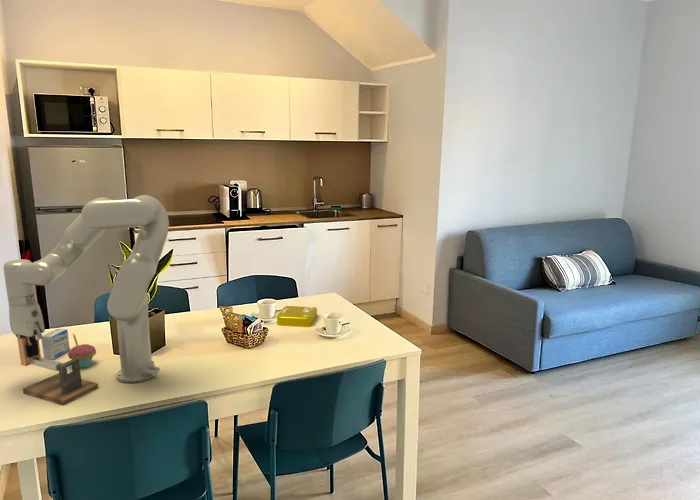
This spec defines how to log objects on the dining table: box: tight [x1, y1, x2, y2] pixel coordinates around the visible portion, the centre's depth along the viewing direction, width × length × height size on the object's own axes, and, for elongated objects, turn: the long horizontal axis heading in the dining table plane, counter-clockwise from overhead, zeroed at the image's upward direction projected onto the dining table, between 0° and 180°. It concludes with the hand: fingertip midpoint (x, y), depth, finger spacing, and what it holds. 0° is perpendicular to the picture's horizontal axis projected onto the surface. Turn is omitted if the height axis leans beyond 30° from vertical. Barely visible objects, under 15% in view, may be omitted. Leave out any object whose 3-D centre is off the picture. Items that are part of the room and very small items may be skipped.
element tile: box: [276, 305, 318, 328], centre depth 222 cm, size 15×15×5 cm
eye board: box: [22, 358, 99, 406], centre depth 158 cm, size 18×12×10 cm, turn 66°
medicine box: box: [40, 328, 71, 360], centre depth 185 cm, size 8×4×9 cm, turn 168°
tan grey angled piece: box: [16, 333, 63, 372], centre depth 160 cm, size 14×5×9 cm, turn 66°
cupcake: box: [67, 333, 97, 369], centre depth 176 cm, size 9×8×12 cm
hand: (30, 354), depth 162 cm, fingers closed on tan grey angled piece, 2 cm apart
